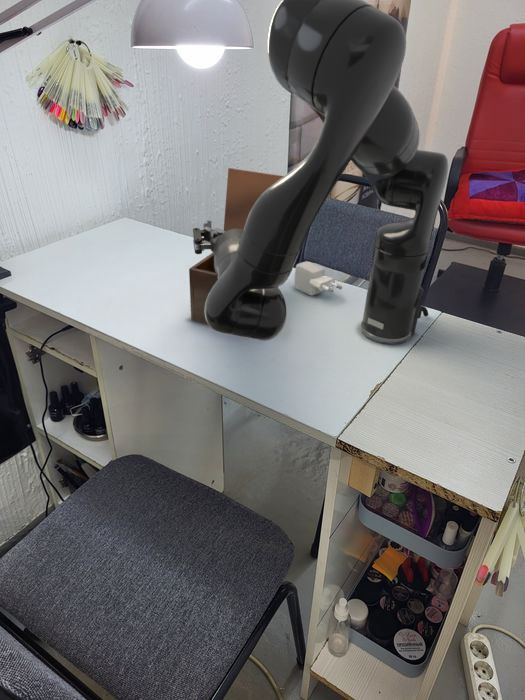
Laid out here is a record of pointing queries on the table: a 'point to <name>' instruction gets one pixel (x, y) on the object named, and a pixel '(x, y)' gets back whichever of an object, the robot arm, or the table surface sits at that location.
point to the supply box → (201, 286)
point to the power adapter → (312, 279)
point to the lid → (244, 195)
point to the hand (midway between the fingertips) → (232, 225)
